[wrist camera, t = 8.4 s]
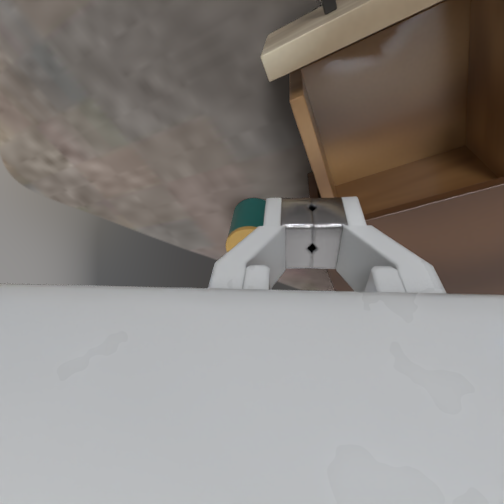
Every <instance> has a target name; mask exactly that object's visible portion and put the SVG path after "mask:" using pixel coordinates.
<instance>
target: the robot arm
mask: <svg viewBox="0 0 504 504" xmlns="http://www.w3.org/2000/svg"><path fill="white" fill-rule="evenodd" d="M287 268H318V269H336V271H337V272H338V273H339V274H340V275H341V277H342V278H343V279H344V280H345V281H346V282H347V283H348V285H349V286H350V287H351V288H352V289H353V290H354V291H309V290H271V288H272V287H273V285H274V284H275V283H276V282H277V280H278V279H279V278H280V276H281V275H282V274H283V272H284V271H285V269H287ZM0 504H504V295H490V294H447V293H446V291H445V289H444V287H443V285H442V283H441V281H440V279H439V277H438V275H437V273H436V271H435V269H434V267H433V266H432V265H431V264H429V263H428V262H426V261H425V260H423V259H422V258H420V257H419V256H417V255H416V254H414V253H413V252H411V251H410V250H408V249H406V248H405V247H403V246H402V245H400V244H399V243H397V242H396V241H394V240H393V239H391V238H390V237H388V236H387V235H385V234H384V233H382V232H381V231H379V230H378V229H376V228H375V227H373V226H372V225H367V224H366V221H365V218H364V215H363V212H362V209H361V206H360V203H359V200H358V197H356V196H353V197H334V198H282V200H281V198H267V199H266V204H265V214H264V223H263V226H258V227H257V228H256V229H255V230H254V231H253V232H251V233H250V234H249V235H248V236H247V237H245V238H244V239H243V240H242V241H241V242H239V243H238V244H237V245H236V246H235V247H233V248H232V249H231V250H230V251H229V252H227V253H226V254H225V255H224V256H223V257H221V258H220V259H219V260H218V261H217V262H215V265H214V268H213V272H212V276H211V279H210V283H209V286H208V288H172V287H130V286H128V287H127V286H85V285H41V284H0Z"/></svg>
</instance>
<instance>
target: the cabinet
mask: <svg viewBox="0 0 504 504" xmlns="http://www.w3.org/2000/svg"><path fill="white" fill-rule="evenodd" d="M308 185H309V197H310V198H321V195H320V192H319V189H318V186H317V183H316V180H315V177H314V174H313V172H311V173H308ZM364 218H365V221H366V224H367V225H372V226H373V227H375V228H376V229H378V230H379V231H381V232H382V233H384V234H385V235H387V236H388V237H390V238H391V239H393V240H394V241H396V242H397V243H399V244H400V245H402V246H403V247H405V248H406V249H408V250H410V251H411V252H413V253H414V254H416V255H417V256H419V257H420V258H422V259H423V260H425V261H426V262H428V263H429V264H431V265H432V266H433V267H434V269H435V271H436V273H437V275H438V277H439V279H440V281H441V283H442V285H443V287H444V289H445V291H446V293H447V294H490V295H504V177H500V178H497V179H493V180H489V181H485V182H482V183H478V184H474V185H471V186H467V187H463V188H460V189H456V190H452V191H449V192H445V193H441V194H437V195H434V196H430V197H426V198H423V199H419V200H415V201H412V202H408V203H404V204H401V205H397V206H393V207H389V208H386V209H382V210H378V211H375V212H371V213H367V214H364ZM327 272H328V274H329V277H330V279H331V282H332V285H333V287H334V290H335V291H354V290H353V289H352V288H351V287H350V286H349V285H348V283H347V282H346V281H345V280H344V279H343V278H342V277H341V275H340V274H339V273H338V272H337V271H336V269H327Z"/></svg>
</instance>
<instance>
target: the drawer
mask: <svg viewBox="0 0 504 504" xmlns="http://www.w3.org/2000/svg"><path fill="white" fill-rule="evenodd" d="M321 2H322V6H321V7H319V8H317V9H315V10H314V11H312V12H310V13H308V14H306V15H304V16H302V17H300V18H299V19H297V20H295V21H293V22H291V23H289V24H287V25H286V26H284V27H282V28H280V29H278V30H276V31H274V32H272V33H271V34H269V35H268V37H267V40H266V42H265V45H264V48H263V51H262V54H261V60H262V63H263V66H264V69H265V72H266V74H267V77H268V80H269V82H272V81H274V80H276V79H278V78H280V77H282V76H284V75H286V74H289V75H290V77H289V102H290V105H291V108H292V111H293V114H294V117H295V120H296V123H297V126H298V129H299V132H300V135H301V138H302V141H303V144H304V147H305V150H306V153H307V156H308V159H309V162H310V165H311V168H312V171H313V174H314V177H315V180H316V183H317V186H318V189H319V192H320V195H321V198H334V197H353V196H356V197H358V200H359V203H360V206H361V209H362V212H363V215H364V214H367V213H371V212H375V211H378V210H382V209H386V208H389V207H393V206H397V205H401V204H404V203H408V202H412V201H415V200H419V199H423V198H426V197H430V196H434V195H437V194H441V193H445V192H449V191H452V190H456V189H460V188H463V187H467V186H471V185H474V184H478V183H482V182H485V181H489V180H493V179H497V178H500V177H504V0H321Z"/></svg>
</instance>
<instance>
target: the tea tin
mask: <svg viewBox="0 0 504 504" xmlns="http://www.w3.org/2000/svg"><path fill="white" fill-rule="evenodd" d="M265 204H266V201H264V200H262V199H258V198H250V199H246V200H243V201H242V202H240V203H239V204H238V205H237V206H236V208H235V210H234V213H233V218H232V222H231V226H230V231H229V235H228V238H227V241H226V250H227V252H229V251H230V250H231V249H232V248H233V247H235V246H236V245H237V244H238V243H239V242H241V241H242V240H243V239H244V238H245V237H247V236H248V235H249V234H250V233H251V232H253V231H254V230H255V229H256V228H257V227H258V226H263V223H264V214H265Z"/></svg>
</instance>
